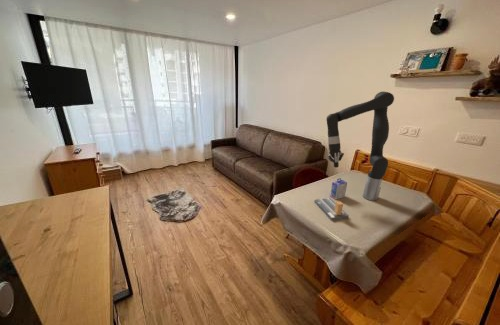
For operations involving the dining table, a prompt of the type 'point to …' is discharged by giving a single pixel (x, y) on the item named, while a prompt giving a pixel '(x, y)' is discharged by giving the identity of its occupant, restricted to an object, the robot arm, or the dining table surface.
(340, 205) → the switch tab
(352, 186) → the dining table surface
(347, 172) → the dining table surface
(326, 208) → the switch panel
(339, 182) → the ink cartridge box
